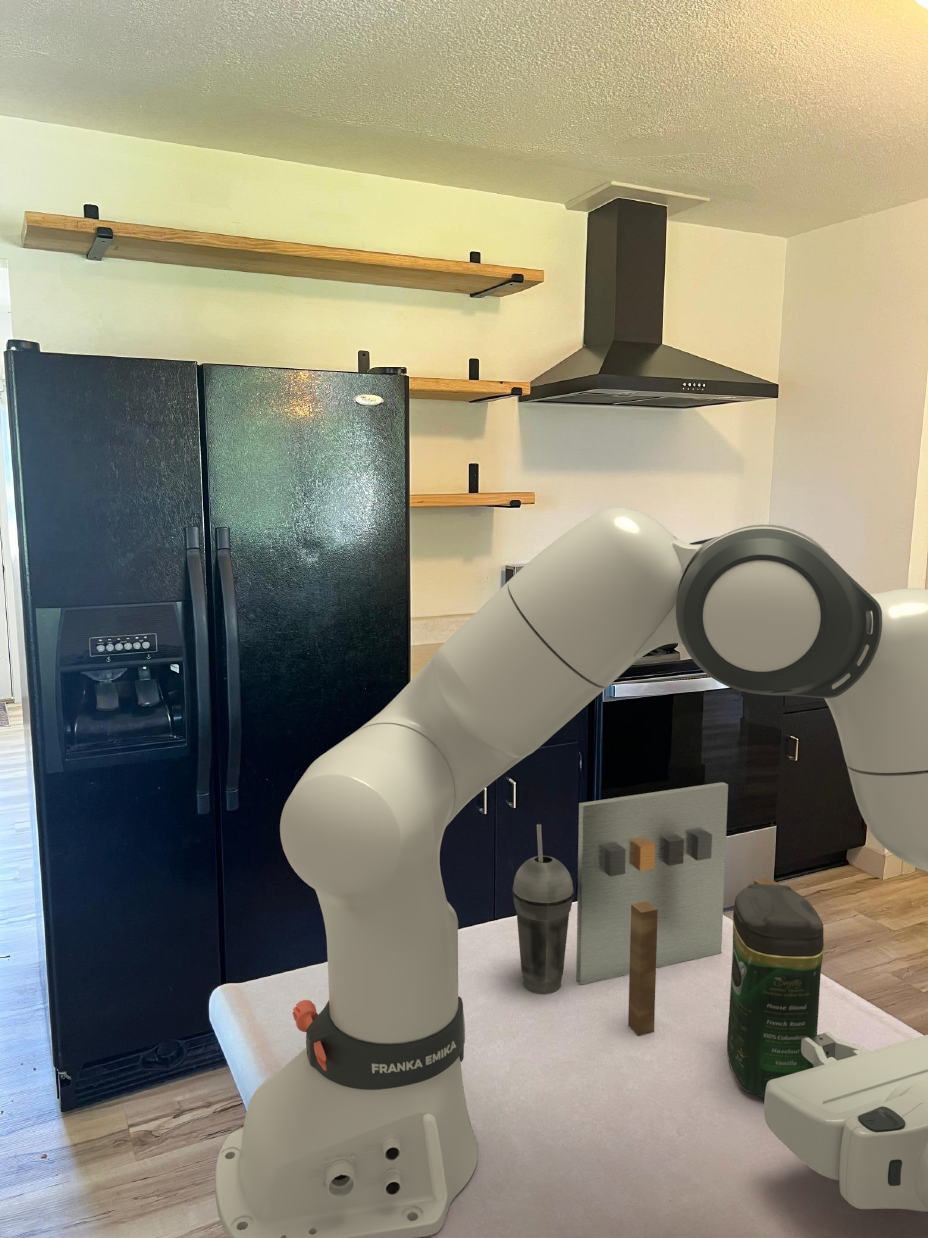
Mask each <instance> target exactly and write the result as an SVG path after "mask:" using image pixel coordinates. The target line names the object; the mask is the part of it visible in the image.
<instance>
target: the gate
mask: <svg viewBox="0 0 928 1238" xmlns="http://www.w3.org/2000/svg"><path fill="white" fill-rule="evenodd" d="M753 884H769V885H781V883H778V882H777V881H775V880H773V879H771V878H770V877H764V878H759V879H755V880H753ZM657 918H658V909H657V908H655V907H654V906H653V905H651V904H650V903H649V902H648V901H646V902H641V903H636V904H631V932H630V972H629V974H628V975H629V976H628V977H629V978H628V979H629V982H628V1013H627V1015H628V1016H627V1017H628V1019H627V1020H628V1021H627V1022H628V1025H627V1027H629V1029H631V1030H632V1032H633V1033H634V1034H635V1035H637V1036H638V1037H640V1036H644V1035H647V1034H651V1033H654V1032H655V1019H656V1018H655V1017H656V1016H655V1013H656V1011H655V1010H656V987H657V986H656V983H657V980H656V977H657V968H656V952H657Z"/></svg>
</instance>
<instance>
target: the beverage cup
mask: <svg viewBox="0 0 928 1238" xmlns="http://www.w3.org/2000/svg"><path fill="white" fill-rule="evenodd" d="M536 835H537V836H536V837H537V838H536V839H537V855H536V856H533V857H531V858H529V859H527V860H525V861H524V863H522V864H521V866H520V867H518V869H517V871H516V873H515V875H514V879H513V885H512V888H511V893H512V895H513V904H514V908H515V910H516V920H517V932H518V934H517V935H518V944H519V946H518V947H519V958H520V969H521V974H522V979H523V980H522V982H523V983H522V985H523V986H524V988H525V989H526V990H527V991H529V992H531V993H534V994H539V995H547V994H552V993H555V992H558V990H560V988H561V987H562V979H563V975H564V967H565V955H566V948H567V938H568V937H567V936H568V928H569V927H568V926H569V917H570V913H571V910H572V906H573V905H572V904H573V898H574V897H575V889H574V886H573V884H574V883H573V879H572V876H571V874H570V872H569V870H568V869H567V867H566V866H565V865H564V864H563V863H562V862H561V861H560V860H559V859H556V858H555V857H553V856H548V855H543V840H542V839H543V838H542V837H543V836H542V824H540V823H538V824H536Z"/></svg>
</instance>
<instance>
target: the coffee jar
mask: <svg viewBox="0 0 928 1238" xmlns="http://www.w3.org/2000/svg"><path fill="white" fill-rule="evenodd" d="M734 899H735V900H734V905H733V915H732V954H731V955H732V956H731V957H732V960H731V975H730V976H731V977H730V993H729V995H730V996H729V1009H728V1024H727V1035H726V1036H727V1039H726V1040H727V1041H726V1050H727V1057H728V1061H729V1064H730V1067H731V1070H732V1073H733V1075H734V1077H735V1079H736V1081H737V1083H738V1084H739V1085H740V1087H741V1088H742V1089H744V1090H745V1091H746V1092H748V1093H751V1094H753V1095H756V1096H760V1097H762V1098H765V1091H766V1085H767V1083H768V1081H770V1080H772V1079H776V1078H780V1077H783V1076H786V1075H790V1074H793V1073H797V1072H800V1071H804V1070H807V1069H811V1068H814V1065H813V1064H812V1063H811V1062H810V1061H808V1060H807V1059H806V1058H805V1057H804V1056H803V1055H802V1053H801V1042H802V1039H803V1038H807V1037H811V1036H815V1035H818V1025H819V1011H820V1010H819V1008H820V991H821V990H820V989H821V976H822V975H821V974H822V965H823V959H824V958H823V957H824V951H825V950H824V946H825V945H824V942H825V941H824V940H825V939H824V923H823V921H822V919H821V917H820V915H819V913H817V911H816V909H815V908H814V907H813V905H812V904H811V902H810V901H809V900H808V899H806V898H805V897H803V895H801V894H799V892H797V891H796V890H793V889H792V888H791V887H790V886H789V885H782V884H780V885H769V884H754V883H751V884H748V886H747V887H744V888H743V889H742V890H741V891H739V892H738V893H737V895H736V896H735V898H734Z"/></svg>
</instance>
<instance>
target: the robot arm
mask: <svg viewBox="0 0 928 1238" xmlns="http://www.w3.org/2000/svg"><path fill="white" fill-rule="evenodd" d="M669 644H670V645H671V644H682V645H683V646H684V648H685V650H686V652H687V654H688V655H689V657H690V658H691V659H692V661H693V662H694V664H696V666H697V667H699V669H700V670H702V671H703V672H704V673H705V674H706V675H708V676H709V677H711V679H713V680H714V681H717V682H718V683H719V684H722V685H724V686H726V687H729V688H731V689H734V690H738V691H741V692H744V693H745V692H746V693H749V694H750V693H751V694H755V695H756V694H757V695H763V696H766V695H767V696H787V697H793V696H794V697H804V698H816V699H817V698H818V699H824V700H825V702H826V704H827V706H828V709H829V710H830V713H831V715H832V718H833V720H834V723H835V726H836V730H837V733H838V737H839V740H840V745H841V748H842V753H843V757H844V761H845V763H846V767H847V772H848V776H849V779H850V784H851V788H852V792H853V794H854V797H855V801H856V804H857V806H858V810H859V812H860V815H861V817H862V818H863V820H864V823H865V824H866V826H867V828H868V830H869V831H870V833H871V835H872V836H873V839H875V840H876V841H877V842H878V843H879V844H880V845H881V846H882V847H883V848H884V849H886V850H887V851H888V852H889V853H890V854H891V855H892V856H894V857H896V858H897V859H899V860H900V861H902V862H904V863H906V864H908V865H910V866H912V867H914V868H916V869H919V870H922V871H924V872H927V873H928V589H927V588H920V587H919V588H918V587H917V588H915V587H914V588H913V587H908V588H897V589H892V590H888V591H883V592H879V593H878V592H876V593H869V592H868V591H867V590H866V589H865V588H864V587H862V585H860V584H859V583H858V582H857V581H856V579H854V578H853V577H852V576H851V575H850V574H849V573H848V572H846V571H845V569H844V568H843V567H842V566H841V565H840V564H839V563H838V562H837V561H836V560H834V558H833V557H832V556H831V555H830V553H828V551H827V550H826V549H825V548H824V547H823V546H822V545H821V544H820V543H818V542H817V541H815V540H814V539H813V537H812V538H811V537H810V536H808V535H806V534H805V533H802V532H800V531H798V530H796V529H794V528H790V527H786V526H782V525H775V524H753V525H747V526H743V527H739V528H737V529H733V530H731V531H728V532H727V533H723V534H721V535H719V536H715V537H711V538H707V539H703V540H697V541H693V542H690V543H687V542H684V541H682V540H681V539H679V538H678V537H676V536H675V535H673V534H672V532H670V530H669V529H667V528H666V527H665V526H664V525H663V524H662V523H661V522H659V521H658V520H656V519H655V518H654V517H652V516H650V515H648V514H646V513H645V512H641V511H639V510H637V509H633V508H631V507H630V508H629V507H624V506H612V507H608V508H604V509H601V510H599V511H597V512H595V513H594V514H592V515H591V516H589V517H588V518H586V519H584V520H583V521H581V522H580V523H578V524H576V525H575V526H574V527H572V528H571V529H569V530H568V531H567V532H565V533H564V534H563V535H561V536H559V537H558V538H557V539H555V540H554V541H553V542H551V544H549V545H548V546H547V547H545V548H544V549H543V550H541V551H540V552H539V553H537V555H536V556H534V557H533V558H532V559H531V560H530V561H529V562H528V563H526V564H525V565H524V566H522V567H521V569H519V570H518V571H517V573H516V572H515V574H514V575H513V576H512V577H511V578H509V580H508V581H507V582H505V584H504V585H503V586H502V587H501V588H499V589H498V591H497V592H495V594H493V596H492V597H490V599H488V600H487V602H485V603H484V604H483V605H482V606H481V607H480V608H479V609H478V610H477V611H476V612H475V613H474V614H473V615H472V616H471V617H470V618H469V619H468V620H467V621H466V622H465V623H463V625H462V626H461V627H459V628H458V629H457V631H455V632H454V634H452V635H451V636H450V637H449V638H448V639H447V640H446V641H445V642H444V643H443V644H442V645H441V646H440V647H439V648H438V649H437V650H436V651H435V653H434V654H433V655H432V657H431V658H430V659H429V660H428V661H427V663H426V664H425V665H424V666H423V667H422V668H421V669H420V670H419V672H417V674H415V676H414V677H413V678H412V679H411V680H410V682H408V684H406V686H404V688H403V689H402V690H401V691H400V692H399V693H398V694H396V696H395V697H394V698H393V699H392V700H391V701H390V702H389V703H388V704H387V705H386V706H385V707H384V708H383V709H382V710H381V711H380V712H378V713H377V714H376V715H374V716H373V717H372V718H371V719H370V720H369V721H367V722H366V723H364V724H363V725H362V726H361V727H360V728H358V729H357V730H355V731H354V732H352V733H351V734H350V735H349V736H347V737H345V738H344V739H342V741H340V742H339V743H337V744H336V745H334V746H333V747H331V748H330V749H328V750H327V751H326V752H325V753H323V754H322V755H320V756H319V757H318V758H316V759H315V760H314V761H313V762H312V763H311V764H310V765H309V767H308V768H307V769H306V770H305V772H304V773H303V775H302V776H301V778H300V779H299V780H298V782H297V783H296V785H295V787H294V788H293V790H292V792H291V793H290V795H289V796H288V798H287V800H286V801H285V803H284V806H283V809H282V812H281V816H280V822H279V823H280V824H279V833H280V835H279V836H280V842H281V845H282V850H283V852H284V854H285V855H284V856H286V859H287V861H288V863H289V864H290V866H291V868H292V869H293V871H294V872H295V873H296V874H297V876H298V877H299V878H300V879H301V880H302V881H303V882H304V883H306V884H307V885H308V886H309V887H311V888H312V889H314V891H315V893H316V895H317V899H318V903H319V905H320V910H321V913H322V917H323V923H324V928H325V935H326V948H327V949H326V953H327V954H326V955H327V976H328V977H327V979H328V1001H327V1003H326V1004H325V1006H324V1008H323V1009H322V1010H321V1011H320V1012H319V1013H318V1012H317V1009H316V1008H317V1007H316V1005H315V1003H314V1002H313V1001H311V1000H309V999H304V1000H300V1001H299V1002H297V1003H296V1004H295V1006H294V1007H293V1009H292V1016H293V1019H294V1021H295V1025H296V1028H297V1029H298V1031H300V1032H302V1033H306V1034H305V1046H306V1047H305V1048H304V1049H303V1050H301V1051H300V1052H299V1053H297V1055H296V1056H295V1057H293V1058H292V1059H291V1060H290V1061H288V1062H287V1063H286V1064H285V1065H283V1067H282V1068H280V1069H279V1070H278V1071H277V1072H276V1073H273V1075H272V1076H271V1077H269V1078H268V1079H267V1080H266V1081H264V1082H263V1083H262V1084H261V1085H259V1086H258V1087H257V1089H256V1090H255V1091H254V1093H253V1094H252V1096H251V1098H250V1100H249V1104H248V1105H247V1110H246V1113H245V1116H244V1117H245V1118H244V1122H243V1127H241V1128H239V1129H236V1130H235V1131H232V1133H230V1134H229V1135H228V1137H227V1138H226V1139H225V1141H224V1142H223V1144H222V1146H221V1149H220V1151H219V1153H218V1156H217V1160H216V1165H215V1176H214V1177H215V1179H214V1192H215V1193H214V1194H215V1203H216V1209H217V1214H218V1218H219V1220H220V1224H221V1228H222V1229H223V1231H224V1234H225V1235H226V1238H422V1237H429V1236H432V1235H434V1234H437V1233H438V1232H439V1231H440V1230H441V1229H442V1228H443V1226H444V1224H445V1221H446V1218H447V1215H448V1211H449V1208H450V1205H451V1203H452V1201H453V1200H454V1199H455V1198H456V1196H457V1195H458V1194H459V1193H460V1192H461V1191H462V1190H463V1189H464V1188H465V1186H466V1185H467V1184H468V1182H469V1181H470V1179H471V1178H472V1176H473V1174H474V1172H475V1169H476V1166H477V1164H478V1156H479V1146H478V1145H479V1144H478V1141H477V1137H476V1135H475V1131H474V1128H473V1126H472V1123H471V1119H470V1114H469V1111H468V1107H467V1106H468V1105H467V1101H466V1096H465V1095H466V1094H465V1090H464V1088H465V1087H464V1081H463V1074H462V1073H463V1071H462V1062H463V1060H464V1059H465V1058H464V1057H465V1056H464V1053H465V1043H466V1020H465V1015H464V1014H465V1013H464V1003H463V999H462V997H461V996H459V920H458V916H457V912H456V910H455V909H454V907H452V905H451V904H450V903H449V902H448V900H447V897H446V896H447V895H446V892H445V887H444V884H443V877H442V874H441V873H442V872H441V865H440V859H441V858H440V857H441V856H440V855H441V854H440V852H441V845H442V841H443V837H444V833H445V830H446V827H447V826H449V824H450V823H451V821H453V820H454V818H455V817H456V816H457V815H458V814H459V813H460V812H461V810H463V808H465V806H466V805H467V804H468V803H470V802H471V800H472V799H474V798H475V797H476V796H477V795H479V794H480V793H481V792H482V791H484V789H486V788H488V786H490V785H491V784H493V782H495V781H496V780H497V779H499V777H501V776H502V775H504V774H505V773H506V772H507V771H509V770H510V769H511V768H513V767H514V766H516V764H518V763H519V762H521V761H523V759H525V758H526V757H527V756H530V755H531V754H533V753H534V752H535V751H537V750H538V749H539V748H540V747H541V746H542V745H544V744H545V743H546V742H547V741H548V740H549V739H550V738H552V737H553V735H554V734H556V733H557V732H558V731H560V729H561V728H563V727H564V726H565V725H566V724H567V723H568V722H570V721H571V720H572V719H573V718H575V717H576V715H577V714H579V713H580V712H581V711H582V710H583V709H584V708H586V706H587V705H589V704H590V703H591V702H592V701H593V700H594V699H595V698H596V697H597V696H599V695H600V694H601V693H602V692H603V691H604V690H606V689H607V688H608V686H610V685H612V683H613V682H614V681H615V680H617V679H618V678H619V677H620V676H621V675H622V674H624V673H625V672H626V670H628V669H629V668H631V666H632V665H634V664H635V663H636V662H637V661H639V660H640V659H641V658H643V656H646V655H647V654H648V653H650V652H651V651H654V650H655V649H657V648H659V647H662V646H665V645H669ZM801 1053H802V1055H803V1056H804V1057H805V1058H806V1059H807V1060H808V1061H810V1062H811V1063H812V1064H813V1065H814V1068H811V1069H807V1070H804V1071H800V1072H797V1073H793V1074H790V1075H786V1076H783V1077H780V1078H776V1079H772V1080H770V1081H768V1083H767V1085H766V1091H765V1097H764V1099H763V1100H764V1102H763V1103H764V1104H763V1105H764V1106H763V1117H764V1121H765V1124H766V1125H767V1127H768V1129H769V1131H770V1132H771V1133H772V1134H773V1135H774V1136H775V1137H776V1138H777V1139H778V1140H779V1141H780V1142H781V1143H782V1144H783V1145H785V1147H786V1148H788V1150H790V1152H792V1154H794V1155H795V1156H796V1157H797V1158H798V1159H800V1160H801V1162H803V1164H805V1165H806V1166H808V1168H810V1169H812V1171H814V1172H815V1173H817V1174H819V1175H821V1176H823V1177H825V1178H828V1179H831V1180H836V1181H839V1192H840V1195H841V1197H842V1198H843V1199H844V1200H845V1201H846V1202H847V1203H848V1204H850V1205H851V1206H852V1207H854V1208H856V1209H859V1210H876V1209H878V1210H880V1209H882V1210H883V1209H884V1210H885V1209H889V1210H890V1209H891V1210H892V1209H893V1210H895V1209H900V1210H908V1211H916V1212H922V1213H925V1212H927V1213H928V1034H925V1035H922V1036H917V1037H914V1038H911V1039H907V1040H904V1041H901V1042H897V1043H893V1044H890V1045H887V1046H883V1047H880V1048H876V1049H874V1050H869V1049H867V1048H866V1047H865V1046H861V1045H857V1044H854V1043H851V1042H848V1041H846V1040H845V1041H844V1040H840V1039H839V1038H838V1037H837V1036H835V1035H833V1034H832V1033H831V1032H830V1031H826V1032H823V1033H819V1034H817V1035H815V1036H811V1037H807V1038H803V1039H802V1042H801Z"/></svg>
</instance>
